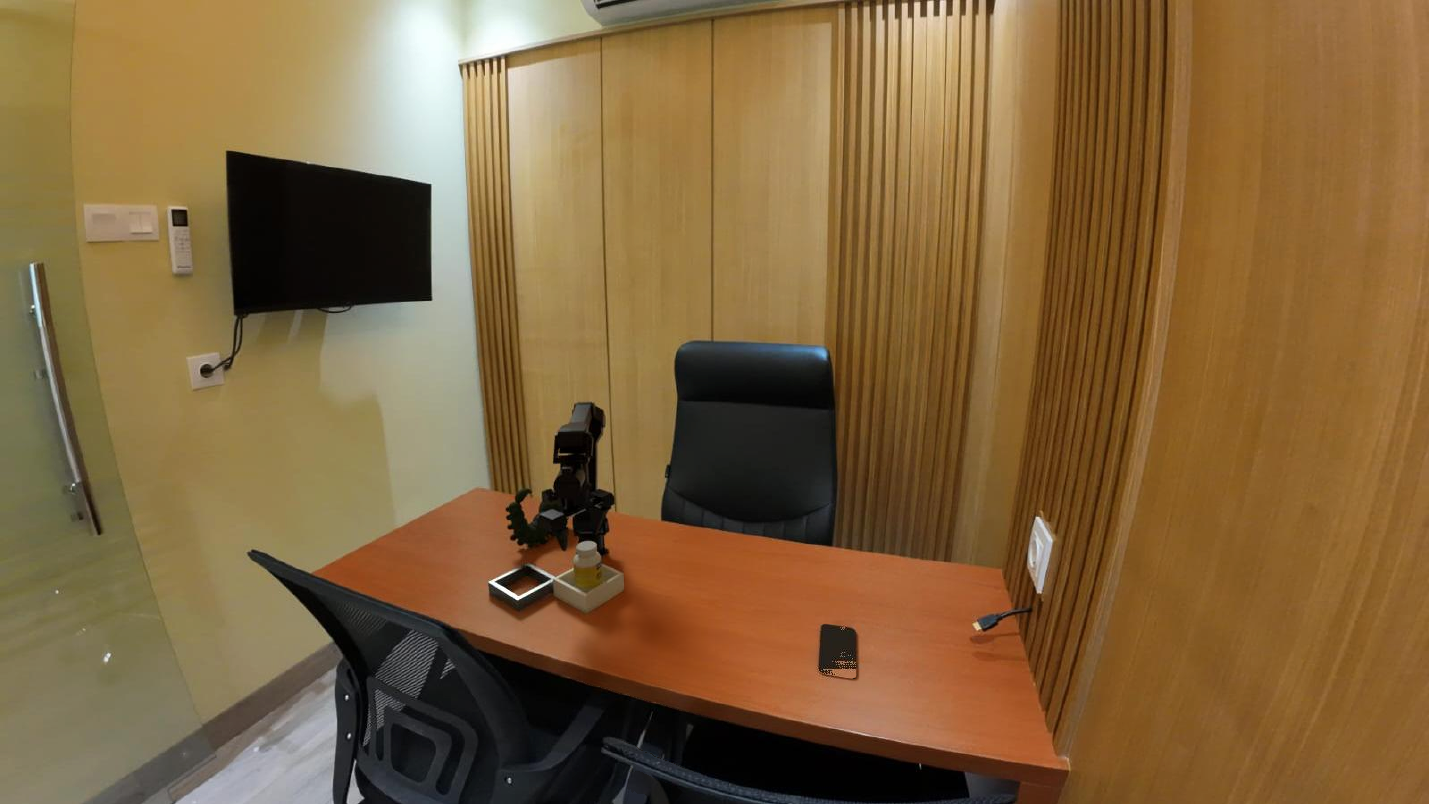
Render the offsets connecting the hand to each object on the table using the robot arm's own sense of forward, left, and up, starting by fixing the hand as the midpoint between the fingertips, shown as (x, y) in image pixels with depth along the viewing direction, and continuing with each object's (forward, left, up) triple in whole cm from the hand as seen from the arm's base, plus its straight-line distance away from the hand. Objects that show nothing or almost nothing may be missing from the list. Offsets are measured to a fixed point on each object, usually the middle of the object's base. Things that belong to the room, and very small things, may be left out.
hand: (579, 542), depth 126 cm
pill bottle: (0, +2, -12) cm, 12 cm away
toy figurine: (-11, -30, -13) cm, 34 cm away
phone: (-17, +58, -13) cm, 62 cm away
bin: (0, +2, -13) cm, 13 cm away
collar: (+9, -11, -13) cm, 19 cm away
